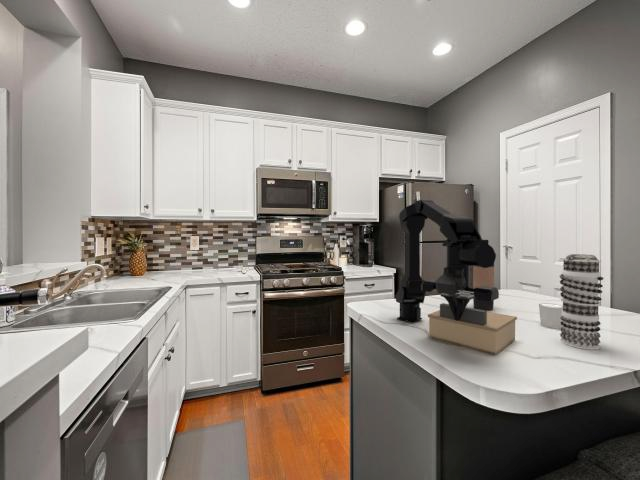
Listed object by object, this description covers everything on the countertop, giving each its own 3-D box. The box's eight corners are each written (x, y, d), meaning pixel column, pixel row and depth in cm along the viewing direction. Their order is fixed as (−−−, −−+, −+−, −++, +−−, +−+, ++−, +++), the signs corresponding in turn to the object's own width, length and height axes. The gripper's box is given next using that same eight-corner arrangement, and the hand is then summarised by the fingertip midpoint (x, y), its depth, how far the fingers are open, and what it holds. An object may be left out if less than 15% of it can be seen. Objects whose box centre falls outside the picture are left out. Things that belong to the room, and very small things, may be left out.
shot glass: (553, 330, 96) (554, 308, 96) (533, 324, 103) (533, 303, 103) (569, 328, 98) (570, 306, 98) (548, 322, 105) (549, 302, 105)
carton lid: (427, 317, 90) (427, 302, 90) (452, 307, 101) (452, 295, 101) (496, 332, 76) (496, 315, 76) (516, 319, 87) (516, 304, 87)
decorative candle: (577, 337, 90) (578, 253, 89) (611, 349, 80) (613, 255, 80) (550, 338, 88) (551, 253, 88) (581, 351, 79) (583, 256, 79)
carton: (429, 337, 90) (429, 317, 90) (453, 326, 101) (453, 308, 101) (495, 355, 77) (495, 331, 77) (515, 340, 87) (515, 319, 87)
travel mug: (468, 307, 126) (469, 259, 125) (481, 305, 129) (481, 258, 128) (485, 311, 119) (486, 261, 118) (498, 309, 122) (498, 260, 121)
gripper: (411, 263, 84) (410, 318, 84) (482, 269, 70) (482, 336, 70) (431, 260, 91) (430, 311, 91) (499, 265, 77) (499, 326, 77)
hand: (457, 320), depth 82 cm, fingers closed
